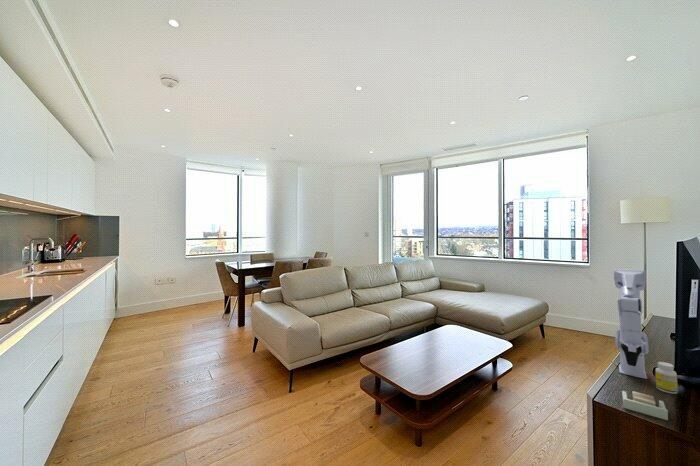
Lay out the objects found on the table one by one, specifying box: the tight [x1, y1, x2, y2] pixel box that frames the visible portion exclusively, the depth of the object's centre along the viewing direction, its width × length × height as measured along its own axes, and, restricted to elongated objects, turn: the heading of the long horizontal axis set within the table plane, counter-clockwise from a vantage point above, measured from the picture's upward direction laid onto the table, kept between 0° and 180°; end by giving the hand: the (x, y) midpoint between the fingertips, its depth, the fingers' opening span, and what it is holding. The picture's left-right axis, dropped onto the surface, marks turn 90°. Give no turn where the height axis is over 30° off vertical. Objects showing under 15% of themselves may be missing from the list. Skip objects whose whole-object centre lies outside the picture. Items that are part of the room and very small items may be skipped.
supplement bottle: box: [654, 361, 679, 395], centre depth 105 cm, size 5×5×10 cm
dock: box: [621, 390, 669, 421], centre depth 94 cm, size 9×10×3 cm
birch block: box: [631, 390, 657, 407], centre depth 94 cm, size 5×5×4 cm
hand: (631, 365), depth 105 cm, fingers closed
